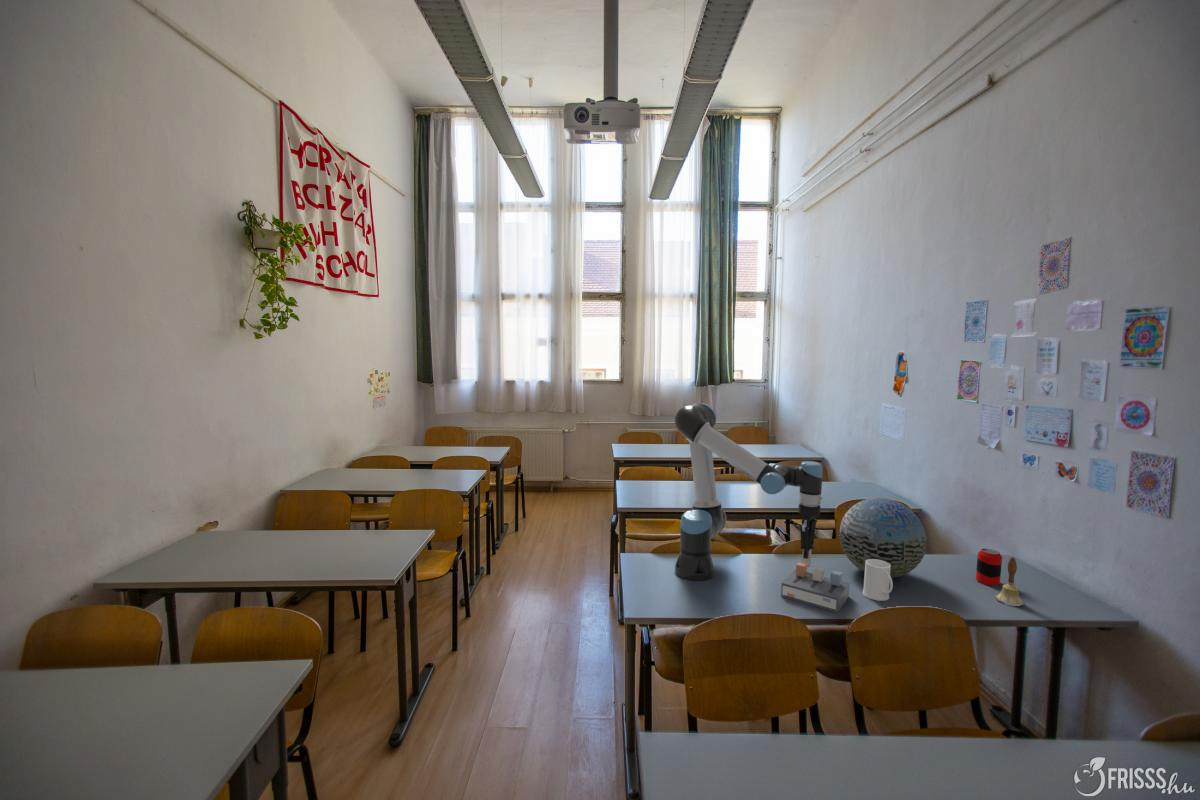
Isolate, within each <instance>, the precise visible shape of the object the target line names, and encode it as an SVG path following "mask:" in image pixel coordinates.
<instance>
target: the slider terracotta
mask: <svg viewBox="0 0 1200 800" xmlns="http://www.w3.org/2000/svg"><path fill="white" fill-rule="evenodd" d="M795 569H796V575H797V576H801V577H805V576H806V575H807V572H808V567H807V564H805V563H802V561H801V562H800V561H798V562H797V563H796V565H795Z"/></svg>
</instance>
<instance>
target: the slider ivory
mask: <svg viewBox="0 0 1200 800" xmlns="http://www.w3.org/2000/svg"><path fill="white" fill-rule="evenodd" d="M812 574H813V579H812V580H815V581H819V582H822V580H823V579H824V577H825V568H824V567H820V566H814V567H813V569H812Z"/></svg>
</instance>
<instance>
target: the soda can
mask: <svg viewBox="0 0 1200 800" xmlns="http://www.w3.org/2000/svg"><path fill="white" fill-rule="evenodd" d="M976 558H977V560H976V570H975V571H976V572H975V580H976V581H977V582H978V583H980V582H981V583H980V584H982V583H983V585H985V584H987V585H986V586H990V585H997V586H999V585H1000V584H1001V575H1002V574H1001V573H1002V565H1003V564H1002V563H1003V556H1002V555H1001V553H1000V551H997V550H995V549H992V548H981V549H980V550H979V551H978V552H977V557H976Z"/></svg>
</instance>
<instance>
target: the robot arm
mask: <svg viewBox="0 0 1200 800" xmlns="http://www.w3.org/2000/svg"><path fill="white" fill-rule="evenodd" d="M716 422H717V414H716V412H715V410H714V409H713V408H712V407H711V406H710V405H709V404H707V403H701V402H697V403H693V404H689V405H685V406H683V407H680V409H678V411H677V412H676V414H675V416H674V425H675V428H676V430H677V431H678V432H679V433H680V434H681V435H682V436H683V437H685V439H686V440H687V441H688V442H689V450H690V459H691V468H692V469H691V470H692V479H693V486H694V488H693V490H694V499H695V500H694V502H692V504H691V507H692V509H691V510H687V511H684V513H682V515H681V519H680V522H679V523H680V536H679V537H680V540H679V544H680V546H679V548H680V549H679V554H678V557H677V559H676V561H675V566H674V572H675V574H676V575H677V576H678V577H680V578H682V579H685V580H688V581H689V580H691V581H706V580H707V581H708V580H711V579H712V578H713V577H714V576H715V566H714V562H713V559H712V555H711V550H712V548H711V547H712V539H714V537H716V536H717V535H719V534H720V533H721V532H722V531H723V530H724V528H725V526H726V525H727V515H726V512H725V510H724V509H723V508H722V502H721V500H720V499H718V498H717V497H718V496H717V487H716V478H715V476H716V475H715V469H714V458H713V457H714V456H713V454H715V455H716V456H717V457H719V458H721V459H722V460H724V461H725V462H727V463H728V464H729V465H731V466H733V467H734V468H735V469H737V470H738V471H740V472H741V473H743V474H744V475H746V476H747V477H748V478H750V479H752V480H753V481H754V482H756V483H758V484H759V485H760V487H761V490H762V491H764V492H765V493H766V494H768V495H777V494H779V493H780V492H782V491H783V490H784V489H785V488H786V487H787V486H791V487H799V492H798V513H799V515H801V516H803V517H802V519H801V525H799V530H800V549H801V550H802V556H801V557H802V559H801V563H805V564H807V568H810V567H811V565H812V550H814V549H815V547H814V541H815V535H816V526H817V522H818V520H817V518H818V517H820V515H821V508H822V507H821V502H822V500H823V496H822V490H823V489H822V487H823V486H822V485H823V477H824V476H823V465H822V464H821V463H820V462H816V461H811V460H810V461H806V460H805V461H801V463H800V465H790V464H782V463H772V462H770V463H767V462H765V461H763V460H762V459H761V458H759V457H758V456H756V455H755V454H753V453H751V452H750V451H749V450H747V449H745V448H744V447H742V446H741V445H739V444H738V443H737V442H734V441H733V440H732V439H731V438H729V437H727V436H726V435H724V434H722V432H719V430H716V429H715V425H716Z"/></svg>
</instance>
